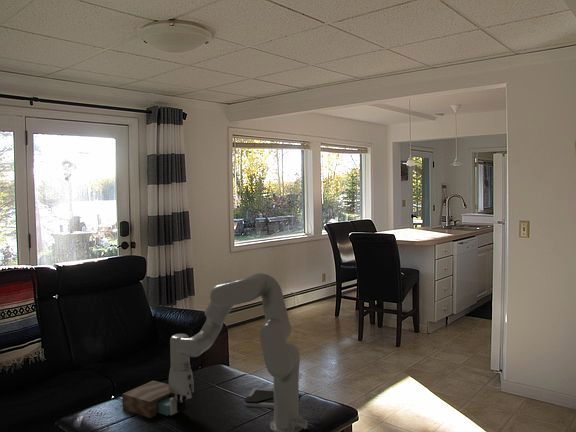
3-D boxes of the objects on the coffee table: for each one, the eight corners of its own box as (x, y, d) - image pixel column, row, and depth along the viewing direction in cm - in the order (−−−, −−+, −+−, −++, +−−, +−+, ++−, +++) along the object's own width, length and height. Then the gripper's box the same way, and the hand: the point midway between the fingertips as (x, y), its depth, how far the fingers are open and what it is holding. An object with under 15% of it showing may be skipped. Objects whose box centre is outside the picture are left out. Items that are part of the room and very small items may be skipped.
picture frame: (244, 407, 204) (292, 411, 200) (243, 401, 204) (292, 404, 200) (253, 392, 220) (299, 395, 216) (253, 386, 220) (298, 389, 216)
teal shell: (182, 409, 201) (181, 394, 201) (169, 416, 195) (169, 400, 195) (156, 402, 209) (155, 387, 209) (143, 408, 203) (143, 392, 203)
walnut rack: (180, 402, 209) (179, 387, 208) (150, 418, 194) (149, 401, 194) (153, 394, 217) (153, 380, 217) (122, 409, 202) (122, 393, 202)
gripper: (200, 365, 195) (201, 411, 196) (173, 359, 203) (174, 403, 204) (187, 371, 189) (188, 418, 190) (159, 365, 197) (160, 410, 197)
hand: (181, 410), depth 197 cm, fingers closed
